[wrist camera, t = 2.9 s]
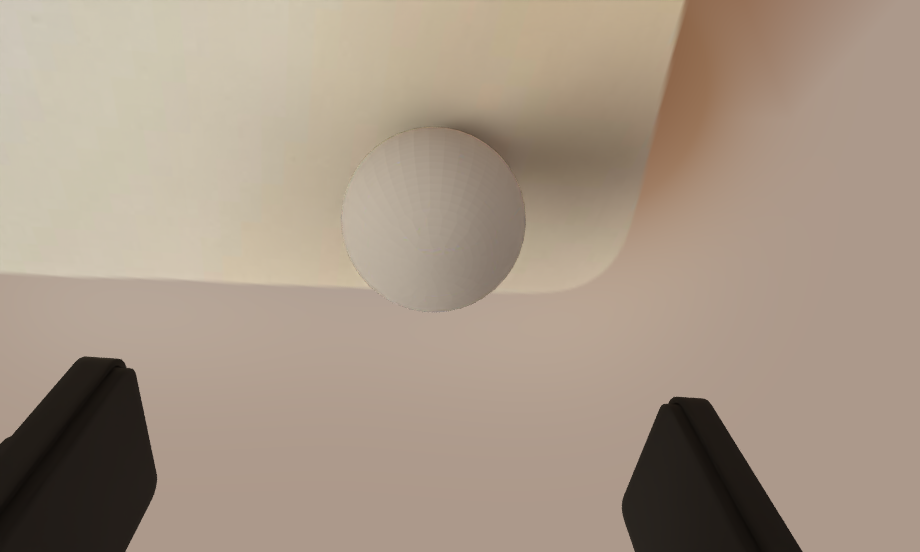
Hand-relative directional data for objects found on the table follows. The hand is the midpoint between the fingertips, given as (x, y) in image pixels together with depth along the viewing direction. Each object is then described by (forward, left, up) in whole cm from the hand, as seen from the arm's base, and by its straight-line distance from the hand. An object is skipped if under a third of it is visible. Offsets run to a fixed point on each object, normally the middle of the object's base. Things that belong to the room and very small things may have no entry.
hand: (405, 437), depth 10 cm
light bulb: (0, 0, -16) cm, 16 cm away
